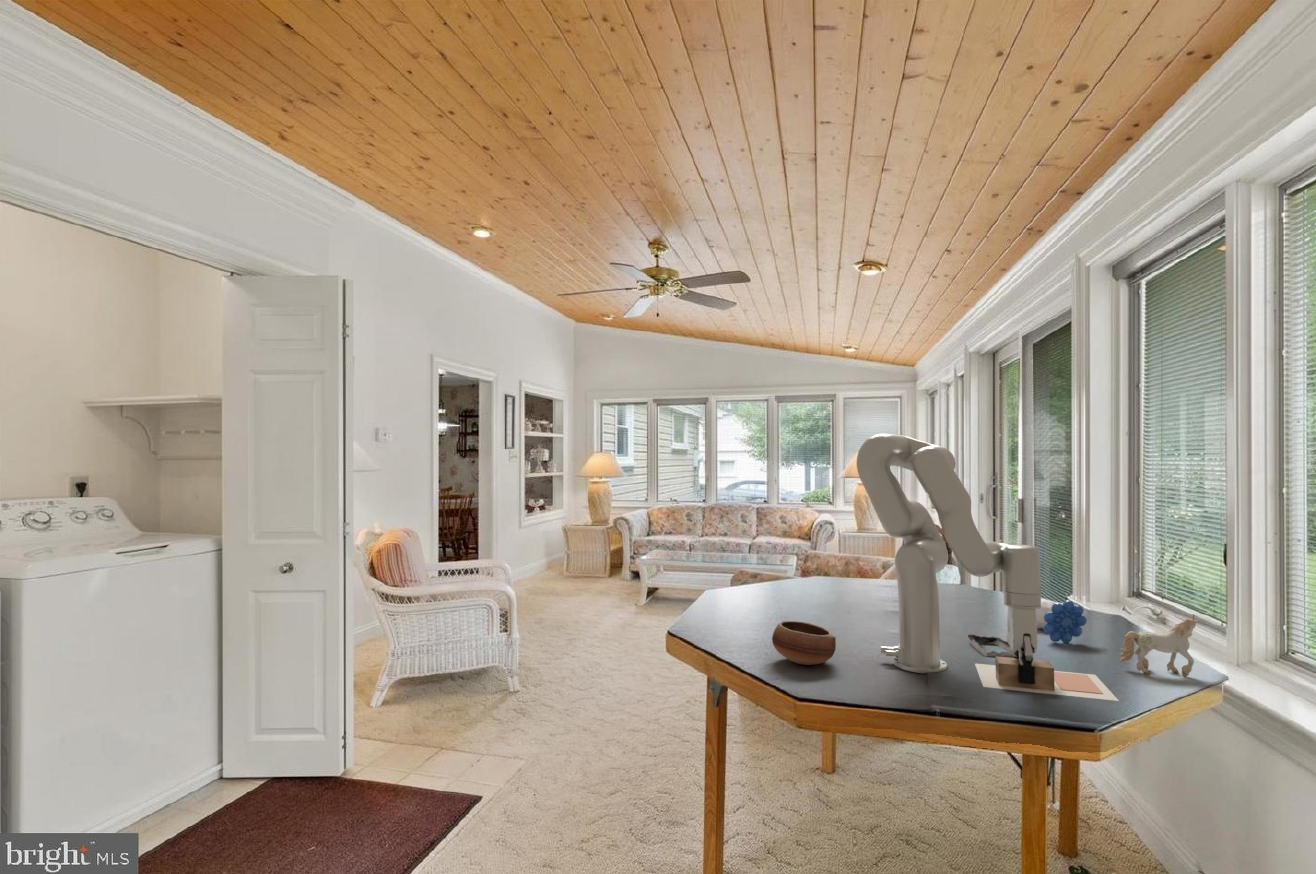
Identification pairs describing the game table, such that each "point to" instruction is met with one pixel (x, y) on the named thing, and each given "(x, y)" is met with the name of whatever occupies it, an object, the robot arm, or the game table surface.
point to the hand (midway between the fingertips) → (1024, 678)
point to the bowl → (803, 642)
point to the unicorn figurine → (1161, 645)
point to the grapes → (1064, 621)
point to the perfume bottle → (1043, 613)
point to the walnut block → (1009, 674)
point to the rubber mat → (1055, 684)
